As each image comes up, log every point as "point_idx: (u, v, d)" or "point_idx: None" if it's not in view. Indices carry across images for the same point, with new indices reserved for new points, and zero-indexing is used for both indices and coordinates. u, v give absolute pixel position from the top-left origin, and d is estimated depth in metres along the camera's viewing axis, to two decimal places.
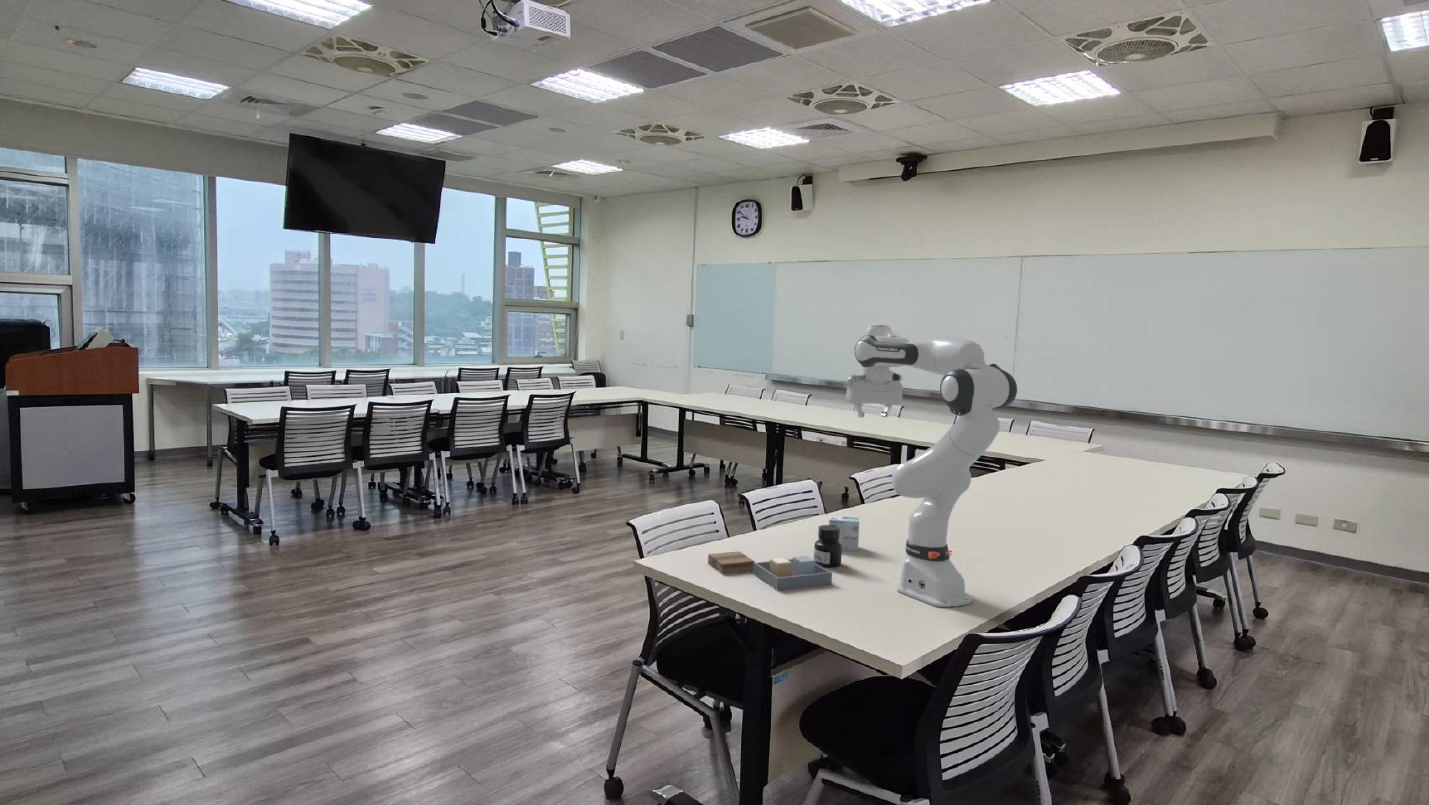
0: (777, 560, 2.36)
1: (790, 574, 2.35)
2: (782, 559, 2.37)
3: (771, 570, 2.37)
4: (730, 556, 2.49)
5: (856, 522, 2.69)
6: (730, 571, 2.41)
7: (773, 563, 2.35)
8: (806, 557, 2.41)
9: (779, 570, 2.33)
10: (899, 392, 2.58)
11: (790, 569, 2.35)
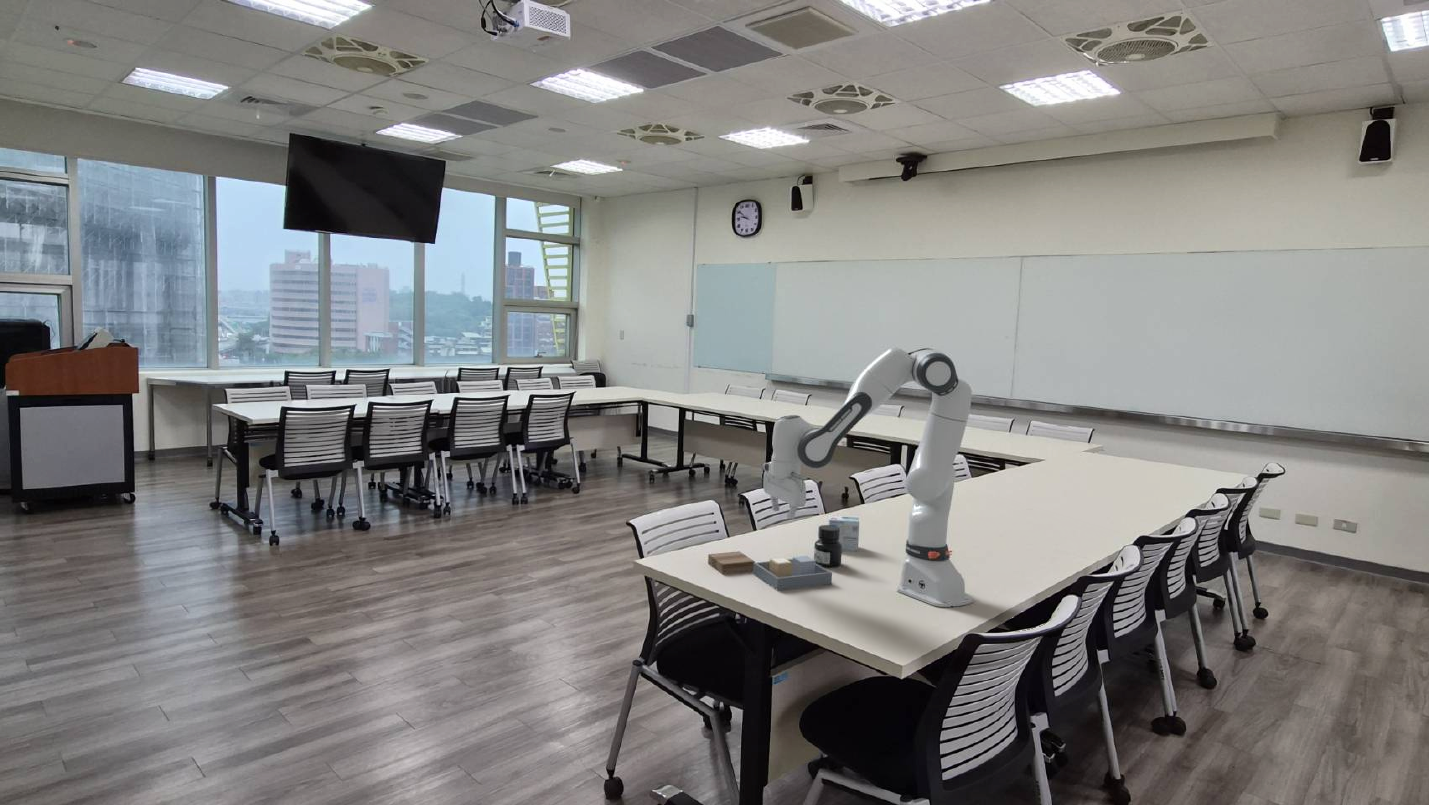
0: (777, 560, 2.36)
1: (790, 574, 2.35)
2: (782, 559, 2.37)
3: (771, 570, 2.37)
4: (730, 556, 2.49)
5: (856, 522, 2.69)
6: (730, 571, 2.41)
7: (773, 563, 2.35)
8: (806, 557, 2.41)
9: (779, 570, 2.33)
10: None
11: (790, 569, 2.35)
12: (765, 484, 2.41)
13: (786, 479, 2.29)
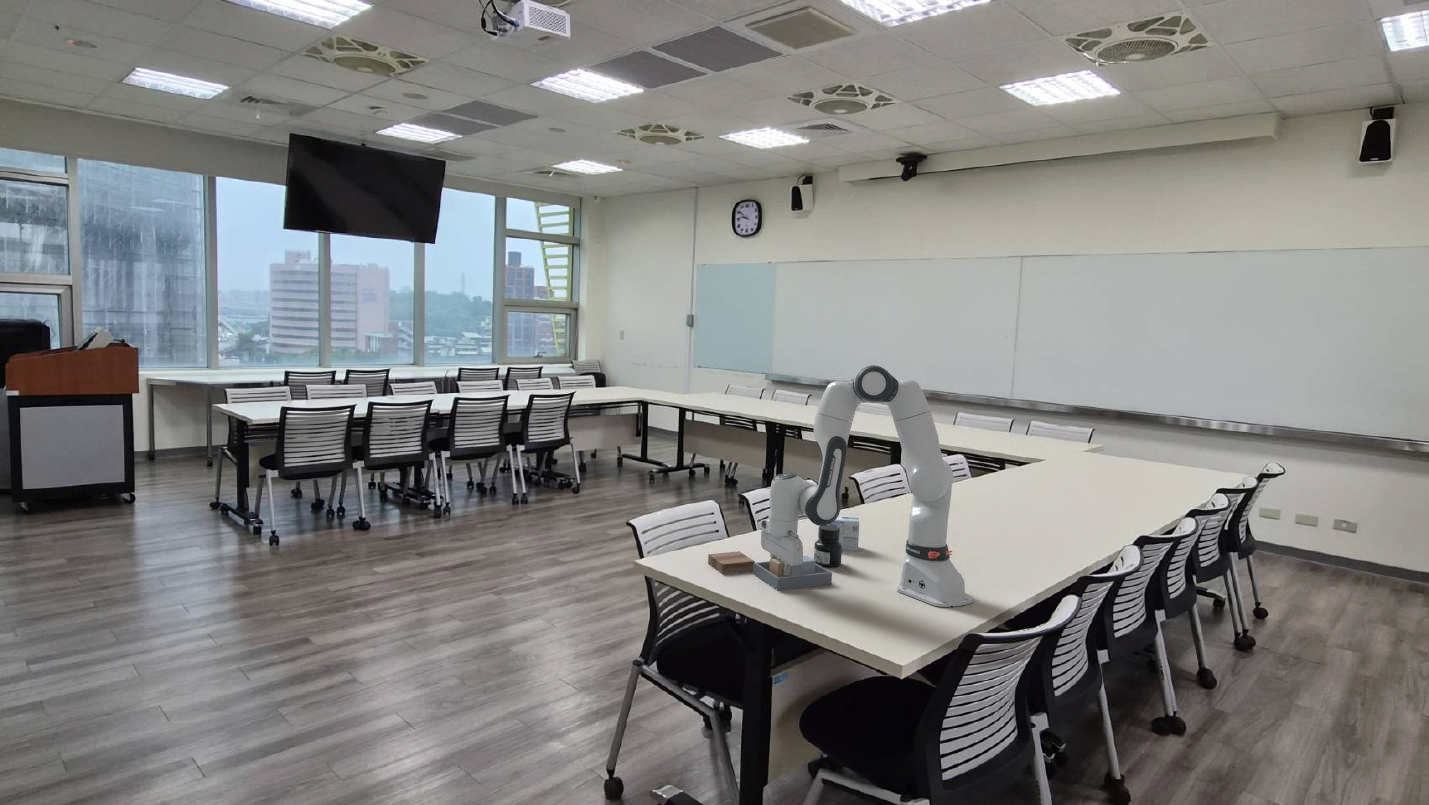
0: (777, 560, 2.36)
1: (790, 574, 2.35)
2: None
3: (771, 570, 2.36)
4: (730, 556, 2.49)
5: (856, 522, 2.69)
6: (730, 571, 2.41)
7: (773, 563, 2.35)
8: (806, 557, 2.41)
9: (779, 569, 2.33)
10: None
11: (790, 569, 2.35)
12: (762, 540, 2.43)
13: (783, 538, 2.31)
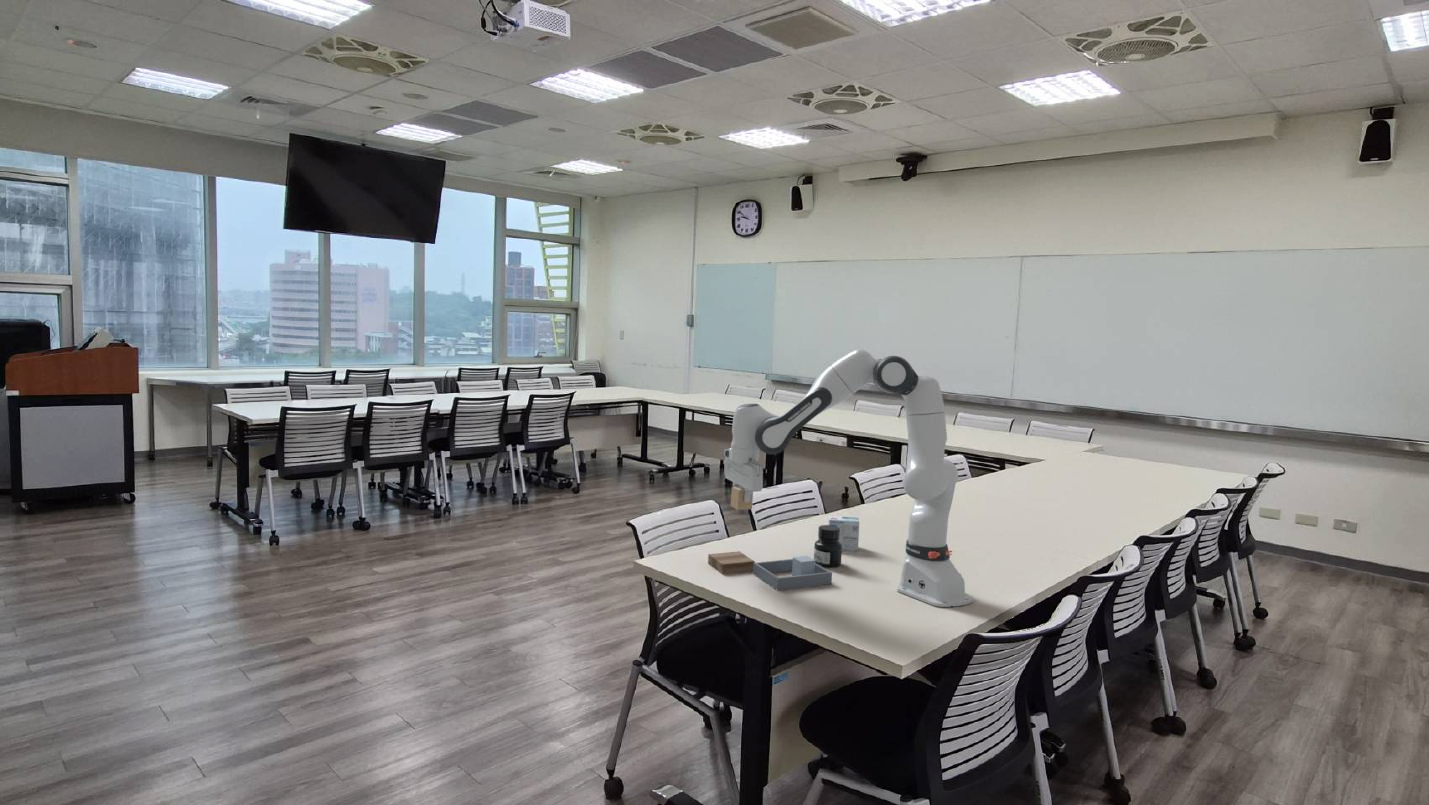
0: (738, 487, 2.43)
1: (751, 501, 2.42)
2: (743, 487, 2.44)
3: (732, 497, 2.43)
4: (730, 556, 2.49)
5: (856, 522, 2.69)
6: (730, 571, 2.41)
7: (734, 490, 2.42)
8: (806, 557, 2.41)
9: (740, 496, 2.40)
10: None
11: (751, 496, 2.42)
12: (726, 470, 2.49)
13: (744, 465, 2.38)
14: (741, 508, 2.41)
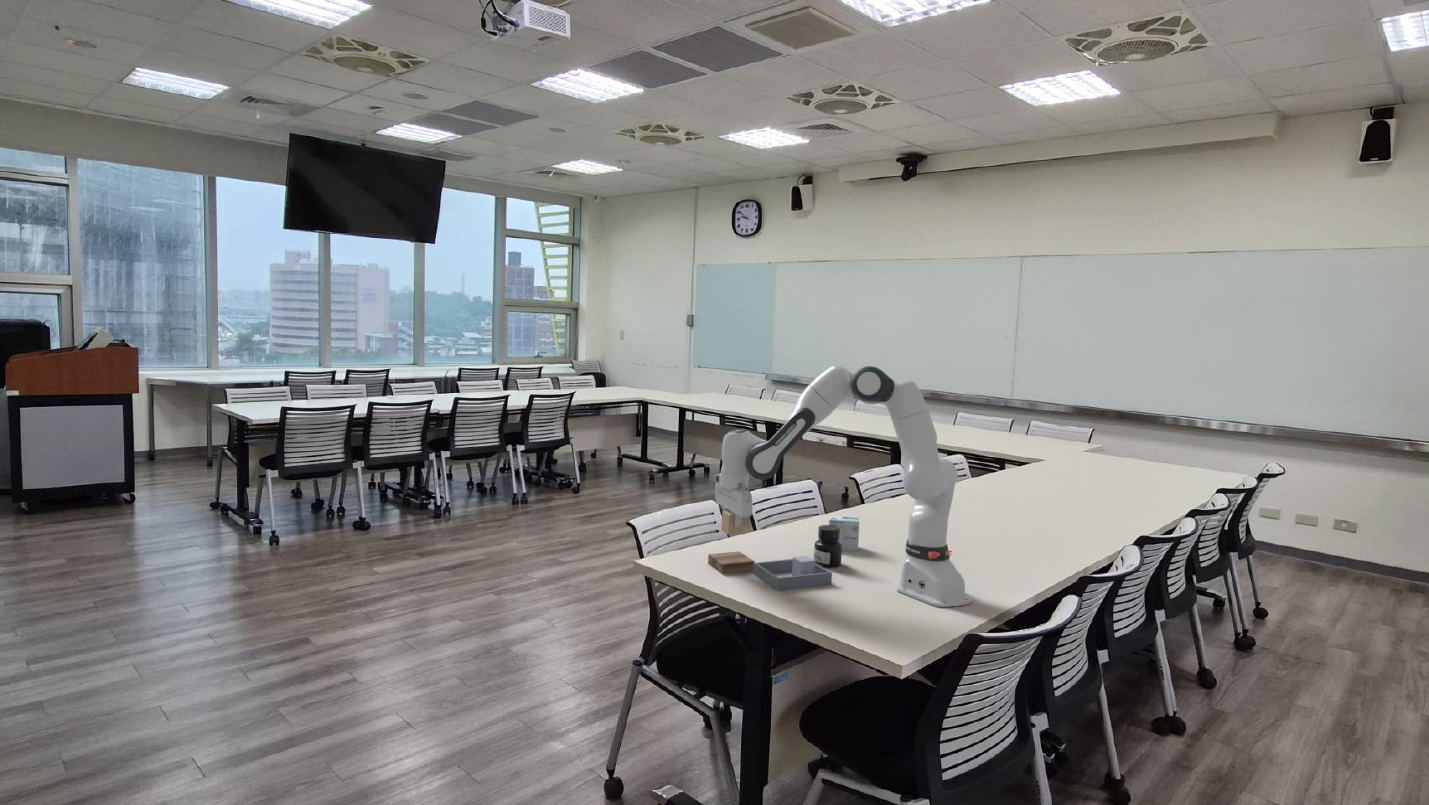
0: (729, 512, 2.46)
1: (741, 525, 2.45)
2: None
3: (723, 522, 2.46)
4: (730, 556, 2.49)
5: (856, 522, 2.69)
6: (730, 571, 2.41)
7: (725, 515, 2.45)
8: (806, 557, 2.41)
9: (730, 521, 2.43)
10: None
11: (741, 521, 2.45)
12: (716, 494, 2.52)
13: (734, 490, 2.41)
14: (732, 533, 2.44)
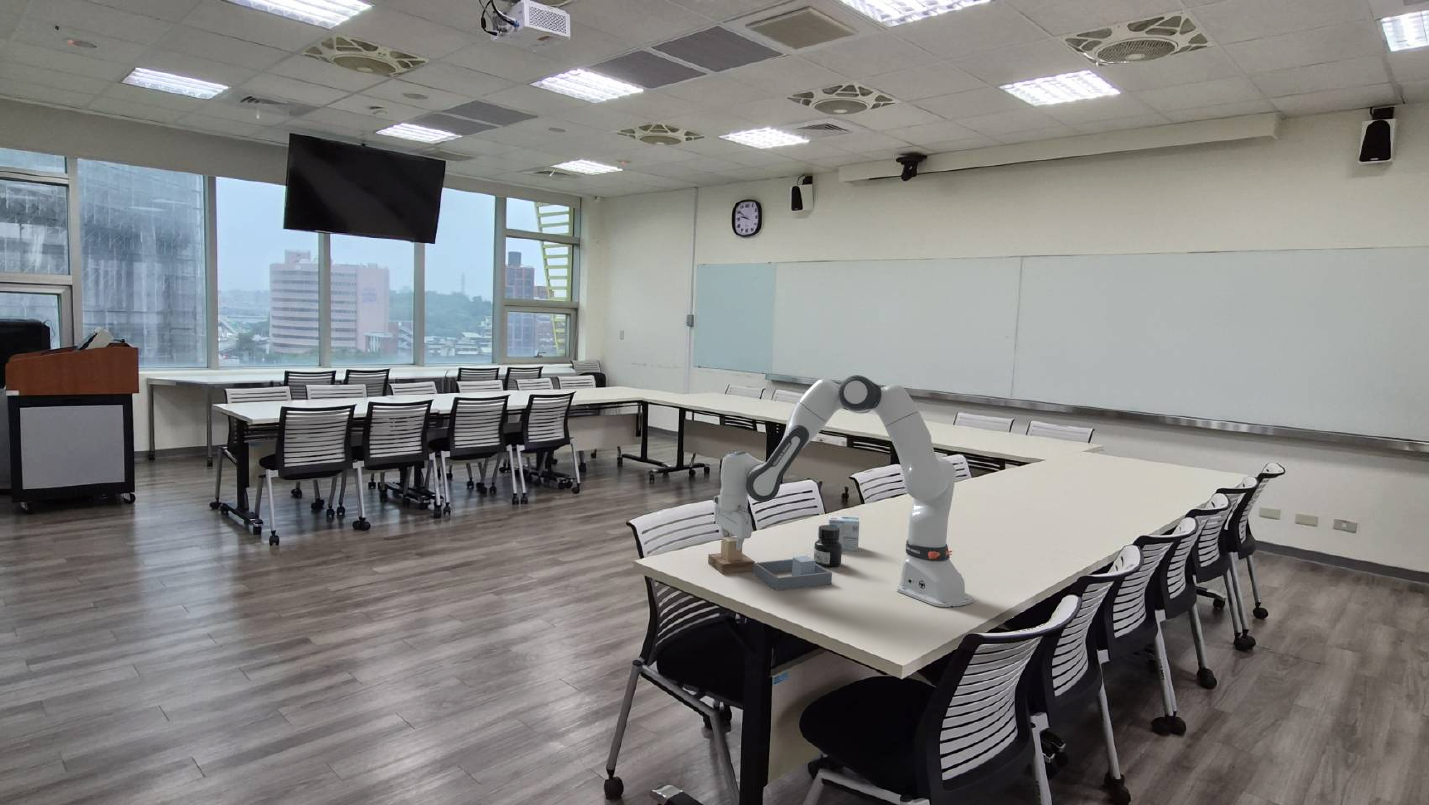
0: (728, 538, 2.46)
1: (740, 551, 2.46)
2: (733, 537, 2.48)
3: (722, 548, 2.47)
4: None
5: (856, 522, 2.69)
6: (730, 571, 2.41)
7: (724, 541, 2.46)
8: (806, 557, 2.41)
9: (729, 547, 2.44)
10: None
11: None
12: (716, 515, 2.53)
13: (733, 512, 2.41)
14: (731, 559, 2.44)
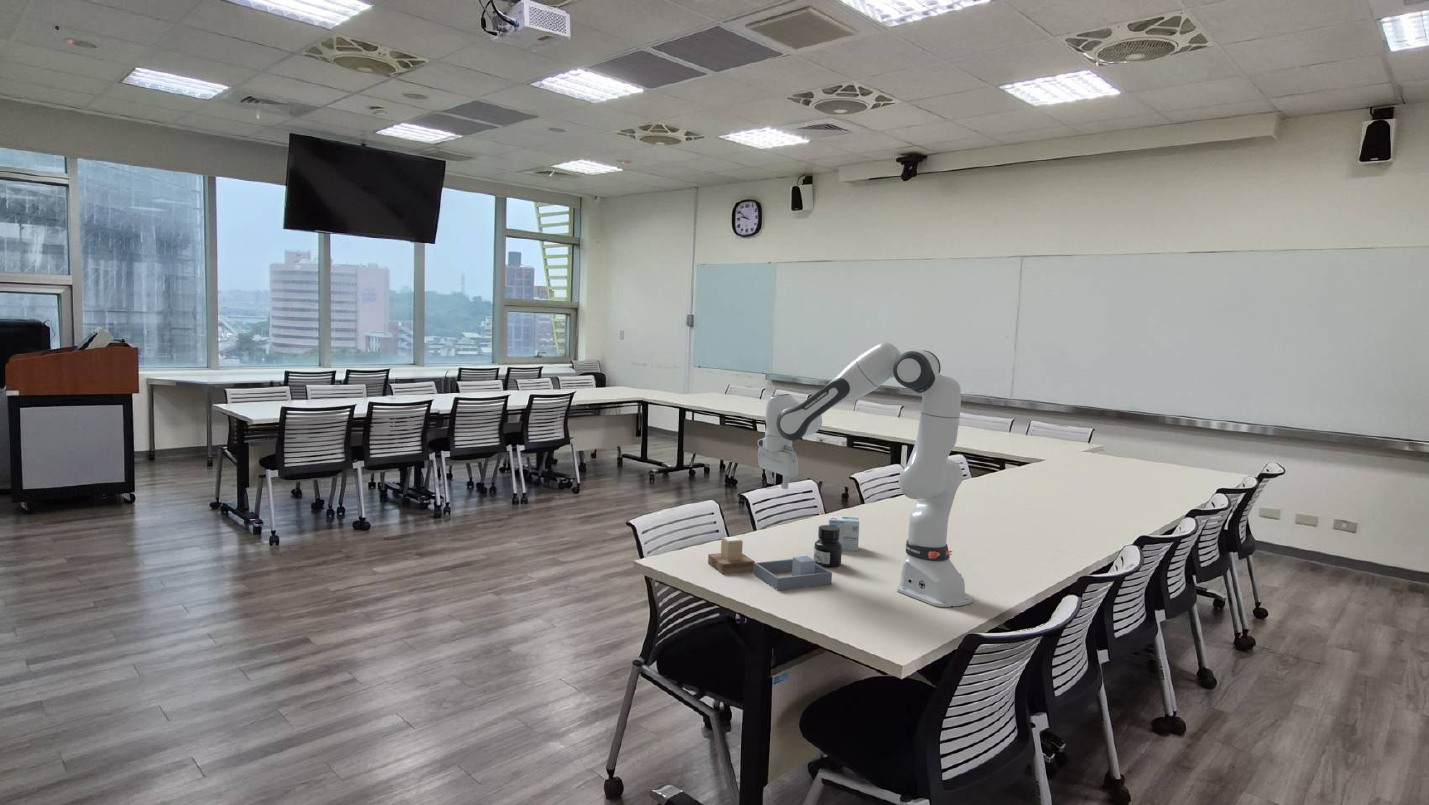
0: (728, 538, 2.46)
1: (740, 551, 2.46)
2: (733, 537, 2.48)
3: (722, 548, 2.47)
4: None
5: (856, 522, 2.69)
6: (730, 571, 2.41)
7: (724, 541, 2.46)
8: (806, 557, 2.41)
9: (729, 547, 2.44)
10: None
11: (740, 547, 2.45)
12: (760, 459, 2.60)
13: (779, 452, 2.49)
14: (731, 559, 2.44)
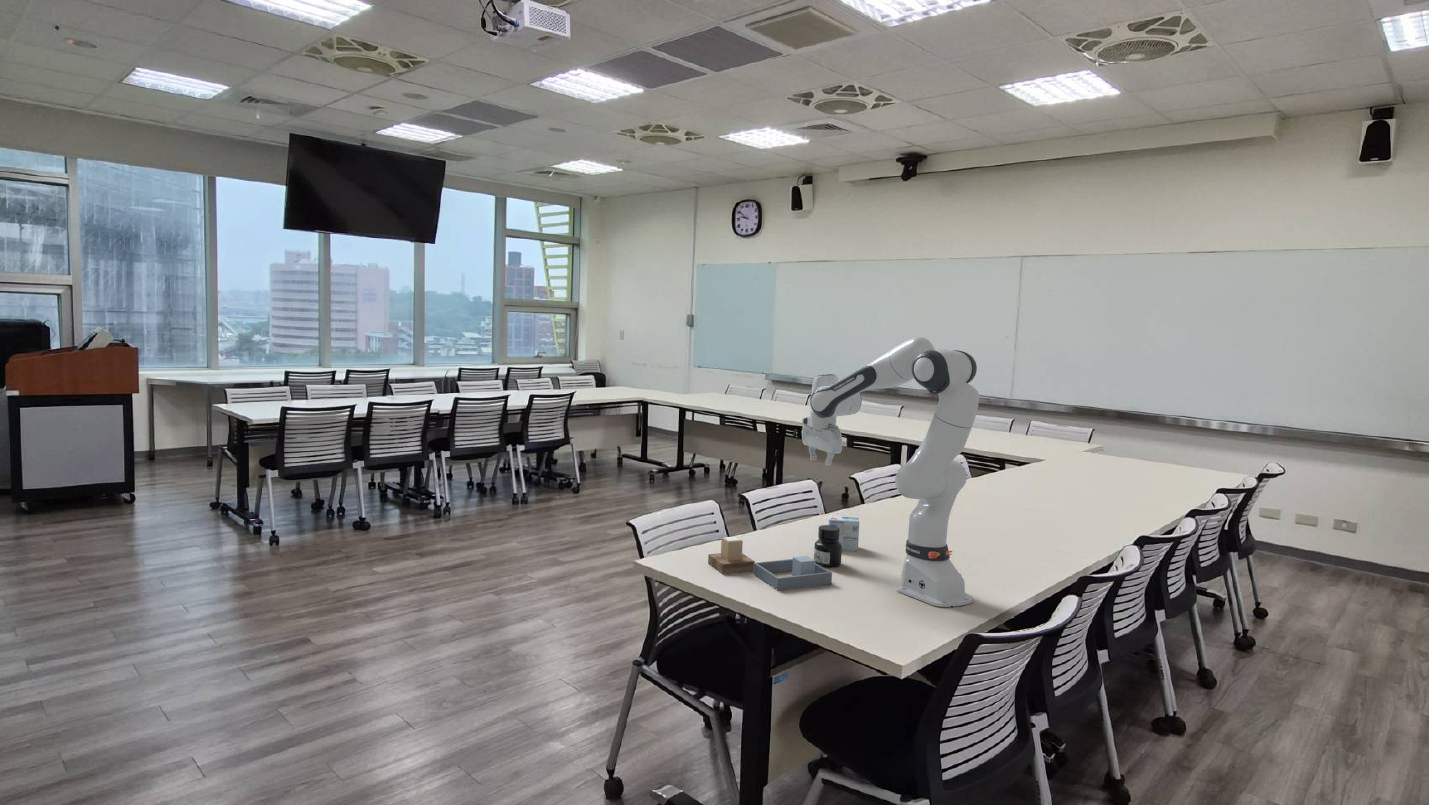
0: (728, 538, 2.46)
1: (740, 551, 2.46)
2: (733, 537, 2.48)
3: (722, 548, 2.47)
4: None
5: (856, 522, 2.69)
6: (730, 571, 2.41)
7: (724, 541, 2.46)
8: (806, 557, 2.41)
9: (729, 547, 2.44)
10: None
11: (740, 547, 2.45)
12: (804, 437, 2.70)
13: (824, 430, 2.59)
14: (731, 559, 2.44)
